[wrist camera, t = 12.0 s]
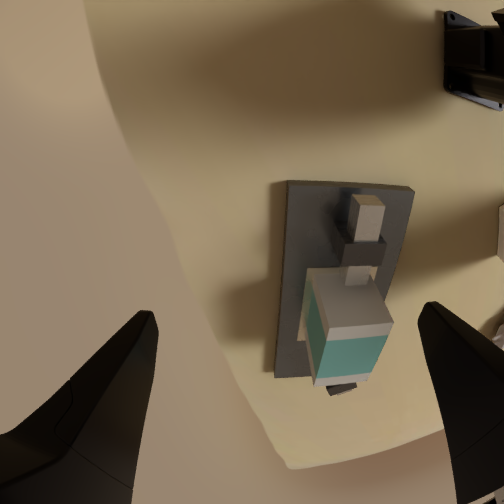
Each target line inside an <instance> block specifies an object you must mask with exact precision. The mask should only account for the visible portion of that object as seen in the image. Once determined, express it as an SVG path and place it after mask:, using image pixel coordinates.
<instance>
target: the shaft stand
mask: <svg viewBox="0 0 504 504" xmlns="http://www.w3.org/2000/svg"><path fill="white" fill-rule="evenodd" d="M414 194H415V191H413V190H412V189H411V188H410V187H408V186H396V185H384V184H369V183H353V182H332V181H300V180H287V193H286V213H285V230H284V247H283V263H282V277H281V291H280V304H279V317H278V329H277V341H276V352H275V363H274V378H288V377H305V376H312V374H311V368H310V362H309V357H308V351H307V346H306V340H305V331H306V325H307V319H308V313H309V307H310V300H311V294H312V287H313V280H314V274H334V273H340V276H341V278H342V281H343V283H344V286H350V285H367V282H368V278H369V275H371V277H372V279H373V281H374V283H375V285H376V286H377V288H378V290H379V292H380V294H381V296H382V298H383V300H384V301H385V298H386V295H387V292H388V289H389V286H390V283H391V280H392V277H393V274H394V271H395V267H396V264H397V261H398V257H399V254H400V251H401V247H402V243H403V240H404V236H405V232H406V228H407V224H408V220H409V216H410V212H411V208H412V203H413V199H414ZM356 387H357V385H356V382H354V383H346V384H338V385H328V386H326V389H327V391H328V393H329V395H330V396H332V395H335V394H337V395H340V394H343V393H346V392H349V391H352V389H354V388H356Z"/></svg>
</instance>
